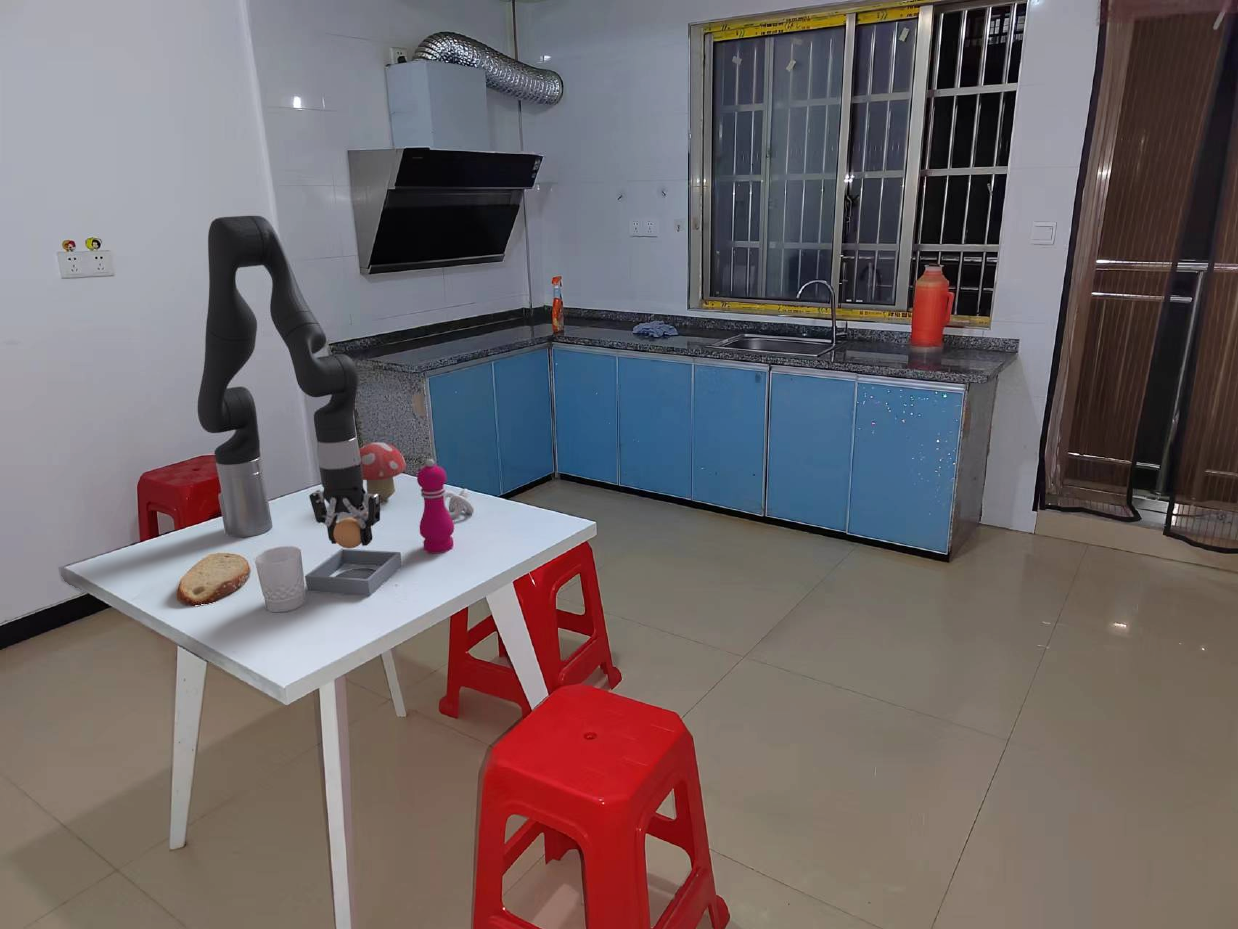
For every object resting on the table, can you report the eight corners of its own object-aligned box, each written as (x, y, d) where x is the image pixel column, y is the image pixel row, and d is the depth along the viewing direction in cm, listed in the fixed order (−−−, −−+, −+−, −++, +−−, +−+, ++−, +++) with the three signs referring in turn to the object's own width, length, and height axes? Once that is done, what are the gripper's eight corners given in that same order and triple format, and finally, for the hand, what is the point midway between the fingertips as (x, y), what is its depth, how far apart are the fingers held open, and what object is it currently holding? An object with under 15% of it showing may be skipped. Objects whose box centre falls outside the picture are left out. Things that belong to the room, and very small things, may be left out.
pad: (323, 587, 153) (323, 586, 153) (347, 567, 161) (347, 566, 161) (365, 590, 151) (365, 589, 151) (387, 570, 159) (387, 569, 159)
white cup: (263, 617, 142) (254, 567, 138) (263, 599, 148) (254, 550, 145) (309, 608, 144) (301, 558, 141) (307, 591, 151) (300, 543, 148)
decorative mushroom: (420, 496, 202) (414, 439, 197) (381, 513, 191) (374, 453, 186) (383, 488, 208) (376, 433, 204) (343, 504, 197) (335, 447, 193)
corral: (307, 591, 151) (304, 576, 150) (343, 562, 164) (341, 548, 163) (370, 596, 149) (368, 580, 148) (402, 566, 161) (400, 552, 160)
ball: (329, 552, 152) (325, 523, 150) (345, 540, 157) (341, 512, 156) (357, 554, 151) (353, 525, 149) (373, 541, 156) (369, 513, 154)
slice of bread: (227, 557, 169) (224, 541, 167) (281, 575, 159) (278, 558, 158) (142, 591, 154) (138, 573, 153) (196, 612, 145) (192, 594, 144)
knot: (445, 523, 183) (443, 500, 182) (436, 512, 190) (434, 490, 188) (476, 517, 187) (474, 494, 185) (466, 507, 193) (464, 484, 192)
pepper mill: (462, 546, 170) (454, 458, 164) (434, 557, 165) (424, 466, 159) (443, 538, 175) (434, 452, 169) (415, 548, 170) (405, 459, 164)
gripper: (294, 465, 147) (307, 549, 152) (364, 468, 144) (375, 553, 149) (316, 454, 154) (328, 534, 159) (384, 456, 151) (394, 538, 156)
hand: (351, 543), depth 154 cm, fingers closed on ball, 6 cm apart
